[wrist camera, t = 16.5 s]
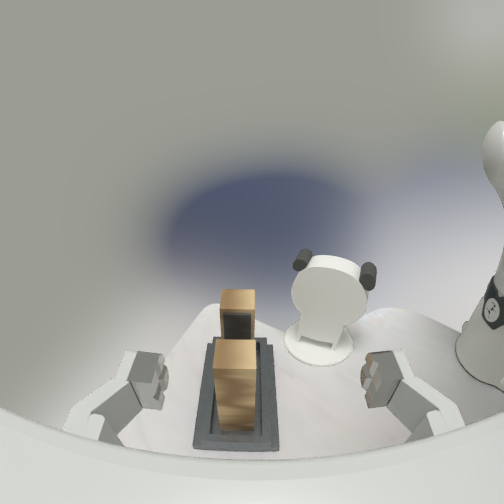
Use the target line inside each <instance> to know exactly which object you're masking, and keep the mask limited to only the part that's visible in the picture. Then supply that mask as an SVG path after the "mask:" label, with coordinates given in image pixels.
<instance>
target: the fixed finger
mask: <svg viewBox="0 0 504 504" xmlns="http://www.w3.org/2000/svg"><path fill="white" fill-rule="evenodd" d="M220 323H221V339H233V340H254V324H255V290H235V289H223V290H222V296H221V303H220Z"/></svg>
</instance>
